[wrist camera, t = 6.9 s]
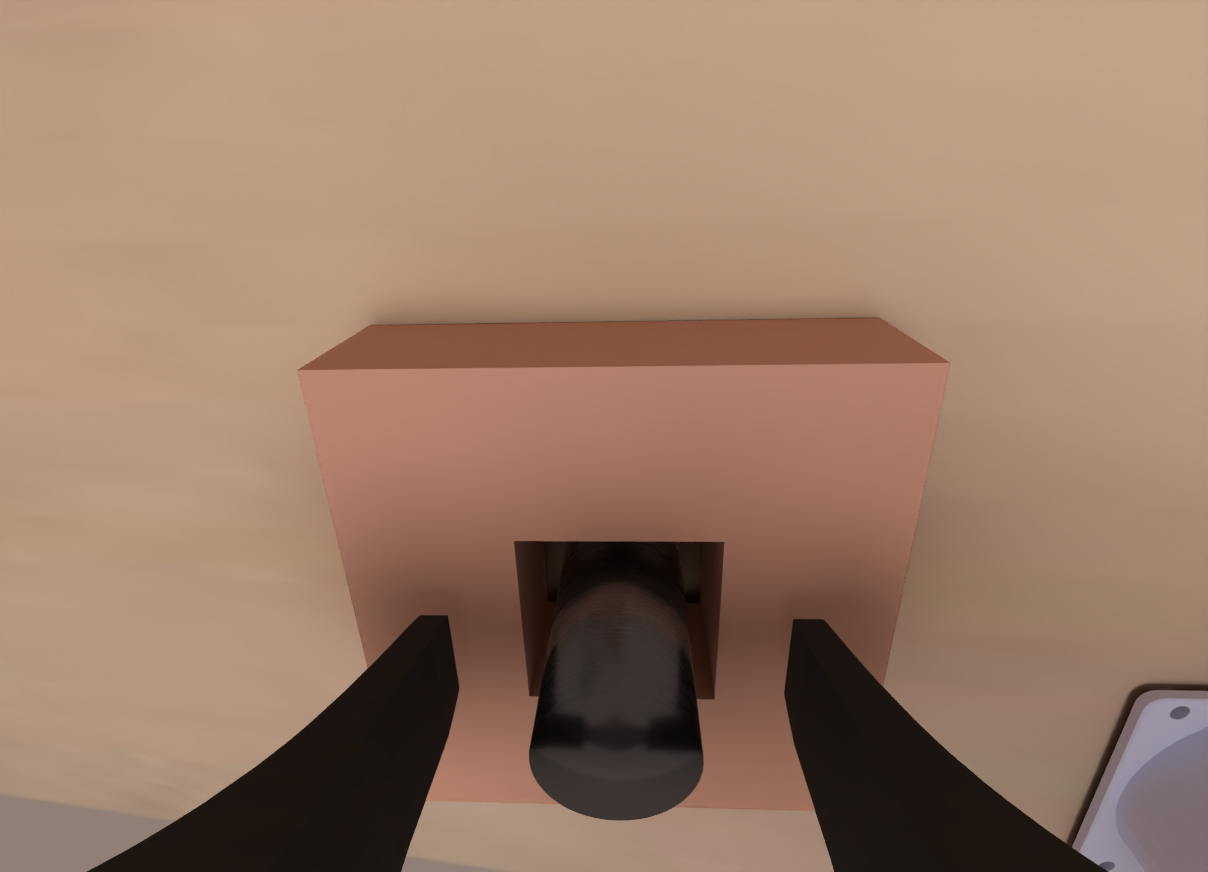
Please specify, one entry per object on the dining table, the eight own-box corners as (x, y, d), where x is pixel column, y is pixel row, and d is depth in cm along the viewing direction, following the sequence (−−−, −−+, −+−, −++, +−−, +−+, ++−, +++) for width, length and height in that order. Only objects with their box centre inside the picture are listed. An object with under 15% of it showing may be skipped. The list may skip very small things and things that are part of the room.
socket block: (879, 317, 14) (950, 363, 11) (819, 702, 19) (856, 811, 16) (370, 325, 15) (297, 370, 12) (437, 696, 20) (399, 799, 17)
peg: (679, 488, 16) (707, 699, 10) (676, 581, 18) (700, 821, 11) (565, 488, 16) (522, 695, 10) (571, 581, 18) (534, 818, 11)
